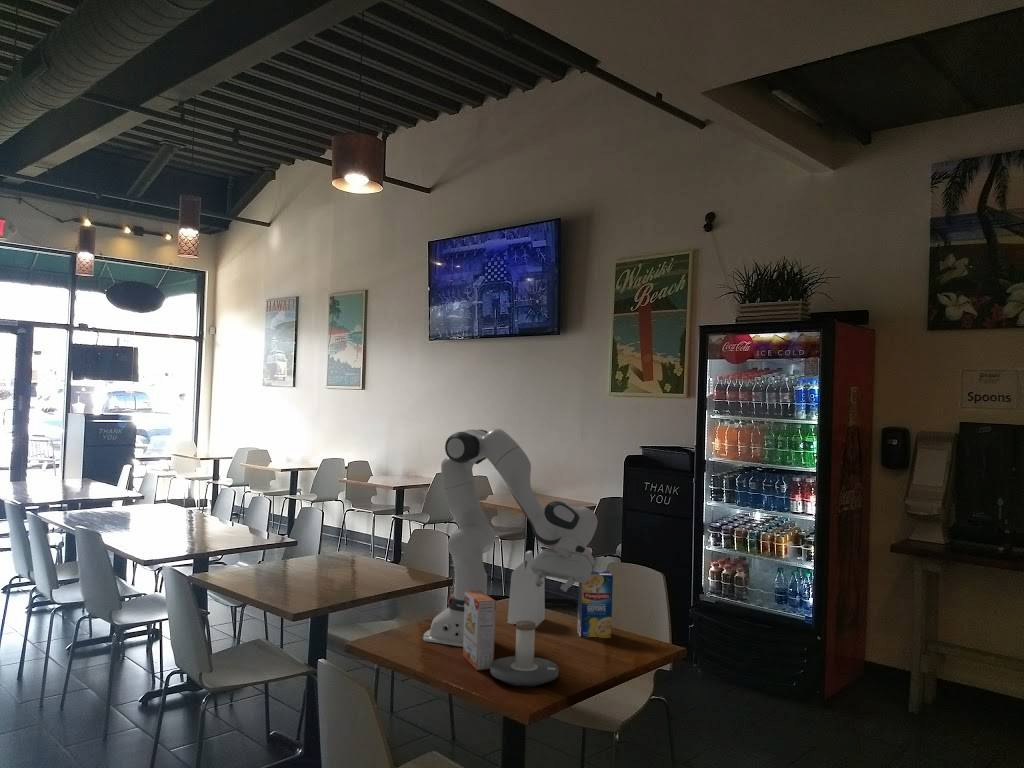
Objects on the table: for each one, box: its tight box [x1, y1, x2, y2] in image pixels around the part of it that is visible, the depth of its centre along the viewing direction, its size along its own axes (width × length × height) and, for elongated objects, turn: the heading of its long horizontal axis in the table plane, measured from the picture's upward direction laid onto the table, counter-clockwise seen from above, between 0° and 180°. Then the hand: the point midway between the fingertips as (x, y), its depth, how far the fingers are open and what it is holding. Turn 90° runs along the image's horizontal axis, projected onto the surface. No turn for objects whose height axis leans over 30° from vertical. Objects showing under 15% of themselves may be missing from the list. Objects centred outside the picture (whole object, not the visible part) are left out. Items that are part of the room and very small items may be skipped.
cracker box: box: [462, 590, 497, 671], centre depth 235 cm, size 14×6×21 cm, turn 21°
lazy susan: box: [489, 655, 559, 684], centre depth 223 cm, size 20×20×2 cm
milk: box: [506, 550, 546, 627], centre depth 286 cm, size 12×12×26 cm
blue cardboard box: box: [577, 570, 614, 639], centre depth 271 cm, size 7×11×22 cm, turn 96°
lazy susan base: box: [502, 681, 545, 688], centre depth 222 cm, size 14×14×2 cm
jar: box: [514, 621, 537, 669], centre depth 223 cm, size 6×6×12 cm
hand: (550, 587), depth 233 cm, fingers open, 8 cm apart
